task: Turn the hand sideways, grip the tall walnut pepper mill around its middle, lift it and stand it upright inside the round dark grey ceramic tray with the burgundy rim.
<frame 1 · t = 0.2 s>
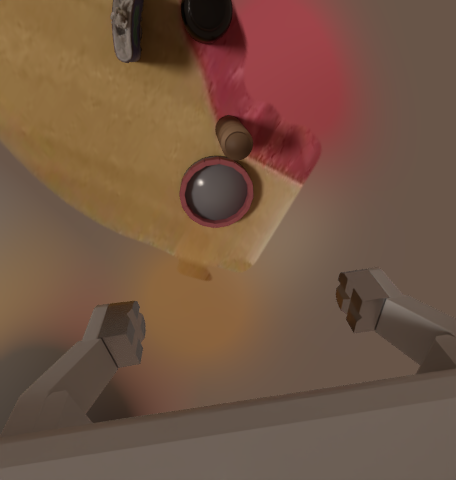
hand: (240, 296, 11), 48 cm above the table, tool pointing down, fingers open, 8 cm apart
supplement bottle: (204, 17, 44), on the table
flask: (133, 26, 44), on the table
round tray: (216, 190, 60), on the table
pepper mill: (228, 129, 53), on the table
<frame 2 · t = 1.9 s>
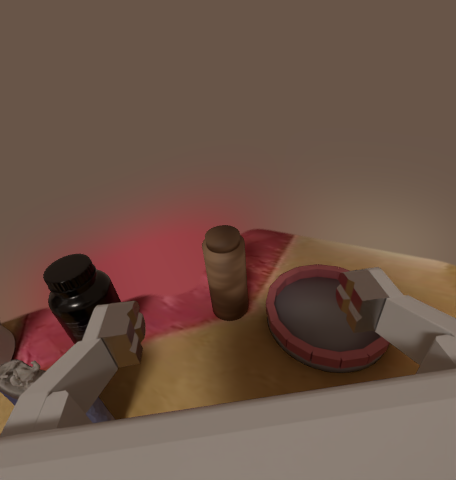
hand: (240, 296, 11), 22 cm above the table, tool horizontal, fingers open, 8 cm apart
supplement bottle: (105, 335, 37), on the table
flask: (77, 428, 28), on the table
round tray: (325, 317, 37), on the table
pepper mill: (230, 306, 40), on the table
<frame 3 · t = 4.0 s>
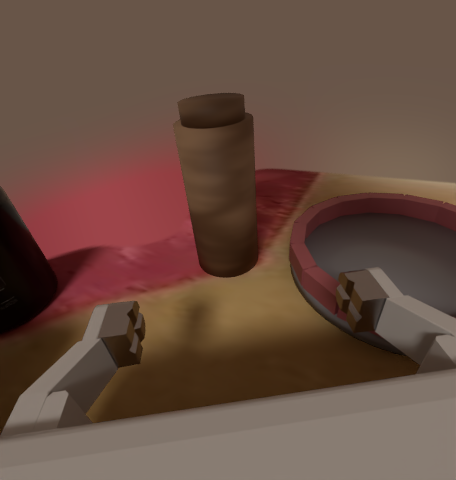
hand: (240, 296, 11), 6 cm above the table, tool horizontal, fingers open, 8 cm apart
supplement bottle: (13, 304, 22), on the table
round tray: (392, 268, 21), on the table
pepper mill: (228, 257, 24), on the table
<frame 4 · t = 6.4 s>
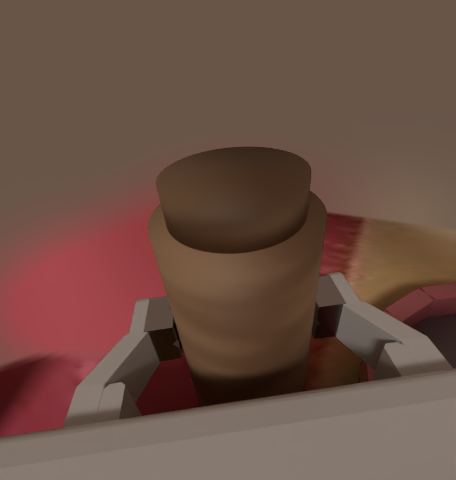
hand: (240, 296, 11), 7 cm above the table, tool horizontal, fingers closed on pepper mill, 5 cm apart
pepper mill: (250, 398, 14), on the table, touching gripper
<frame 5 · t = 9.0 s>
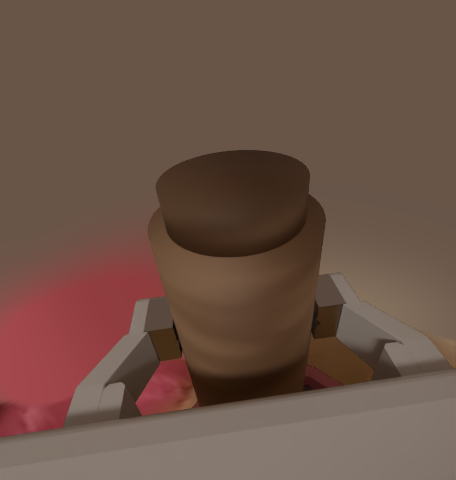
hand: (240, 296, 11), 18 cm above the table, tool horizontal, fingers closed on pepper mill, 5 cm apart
round tray: (282, 475, 20), on the table
pepper mill: (250, 399, 14), point 11 cm above the table, touching gripper
when the fingers open (9 cm above the table, at t = 11.2 s): pepper mill drops 1 cm, resting on round tray.
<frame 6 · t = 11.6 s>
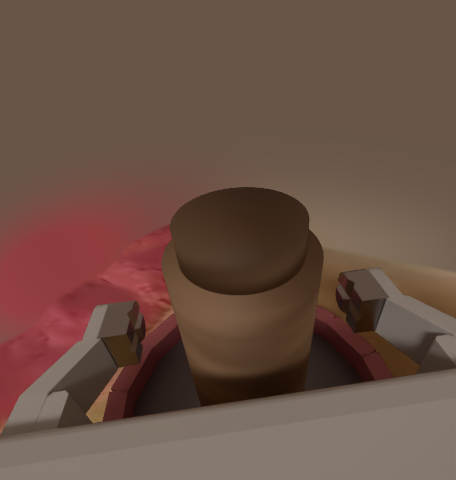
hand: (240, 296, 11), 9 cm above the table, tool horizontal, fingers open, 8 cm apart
round tray: (252, 419, 16), on the table
pepper mill: (252, 411, 15), point 1 cm above the table, touching round tray
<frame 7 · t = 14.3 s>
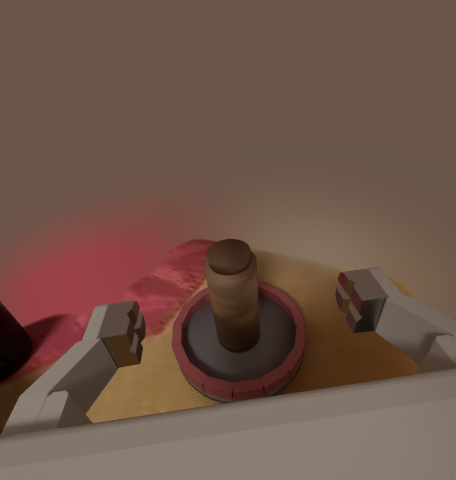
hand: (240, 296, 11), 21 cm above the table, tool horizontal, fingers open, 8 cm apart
supplement bottle: (4, 361, 35), on the table
round tray: (239, 338, 34), on the table
pepper mill: (238, 333, 33), point 1 cm above the table, touching round tray
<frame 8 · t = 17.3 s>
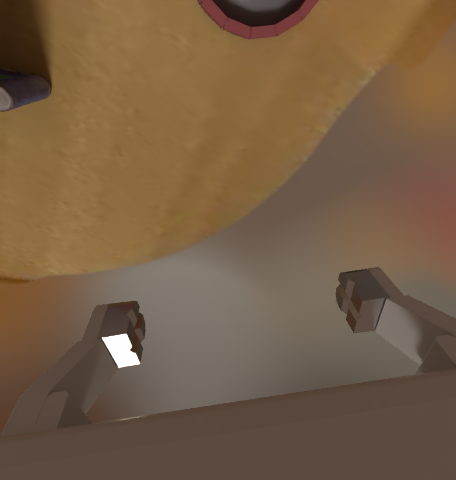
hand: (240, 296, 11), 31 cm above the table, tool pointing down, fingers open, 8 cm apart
flask: (8, 80, 32), on the table
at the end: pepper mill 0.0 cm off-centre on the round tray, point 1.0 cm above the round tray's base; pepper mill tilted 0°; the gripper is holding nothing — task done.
